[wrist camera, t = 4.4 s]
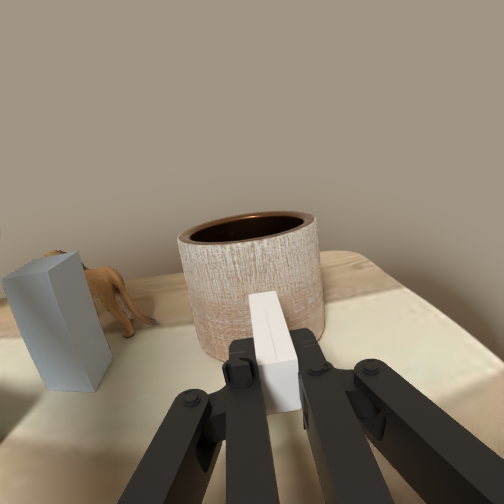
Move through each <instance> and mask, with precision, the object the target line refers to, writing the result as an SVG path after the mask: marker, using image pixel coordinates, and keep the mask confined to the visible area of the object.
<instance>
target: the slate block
mask: <svg viewBox="0 0 504 504" xmlns="http://www.w3.org/2000/svg"><path fill="white" fill-rule="evenodd" d="M1 281H2V284H3V287H4V290H5V293H6V296H7V299H8V302H9V305H10V308H11V310H12V313H13V315H14V318H15V321H16V323H17V326H18V328H19V330H20V333H21V335H22V338H23V340H24V342H25V344H26V347H27V349H28V351H29V353H30V355H31V358H32V360H33V362H34V364H35V366H36V368H37V370H38V372H39V374H40V376H41V378H42V380H43V382H44V383H45V385H46V387H47V389H48V390H54V391H74V392H95V391H96V389H97V387H98V386H99V384H100V382H101V380H102V378H103V376H104V374H105V372H106V370H107V368H108V366H109V365H110V363H111V361H112V359H113V356H112V353H111V351H110V348H109V346H108V343H107V340H106V338H105V335H104V332H103V329H102V327H101V324H100V321H99V318H98V315H97V312H96V309H95V306H94V303H93V300H92V297H91V294H90V290H89V287H88V284H87V280H86V277H85V274H84V270H83V266H82V263H81V259H80V255H79V252H78V251H75V252H71V253H65V254H60V255H55V256H50V257H45V258H40V259H35V260H32V261H31V262H29V263H27V264H26V265H24V266H23V267H21V268H19V269H18V270H16V271H14V272H12V273H11V274H9V275H8V276H6V277H5V278H3V279H1Z"/></svg>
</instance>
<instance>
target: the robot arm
mask: <svg viewBox="0 0 504 504" xmlns="http://www.w3.org/2000/svg"><path fill="white" fill-rule="evenodd" d="M248 296H249V304H250V313H251V321H252V329H253V337H251V338H244V339H237V340H233V341H232V343H231V344H230V345H229V360H227V361H226V362H225V363H224V364H223V366H222V370H223V374H224V378H225V382H226V385H225V386H224V387H223V388H222V389H221V390H219V391H217V392H214V393H211V394H208V395H207V393H206V392H204V391H203V390H200V389H189V390H186V391H183V392H182V393H180V394H179V395H178V396H177V397H176V398H175V400H174V402H173V404H172V405H171V407H170V409H169V411H168V413H167V414H166V416H165V418H164V420H163V422H162V423H161V425H160V427H159V429H158V431H157V433H156V434H155V436H154V438H153V440H152V442H151V443H150V445H149V447H148V449H147V451H146V452H145V454H144V456H143V458H142V460H141V461H140V463H139V465H138V467H137V469H136V470H135V472H134V474H133V476H132V478H131V479H130V481H129V483H128V485H127V487H126V488H125V490H124V492H123V494H122V496H121V497H120V499H119V501H118V503H117V504H201V503H202V501H203V498H204V495H205V492H206V489H207V487H208V484H209V481H210V478H211V475H212V472H213V469H214V466H215V464H216V461H217V458H218V455H219V452H220V449H221V446H222V441H223V440H226V501H227V504H280V502H279V495H278V488H277V482H276V475H275V469H274V462H273V455H272V448H271V442H270V435H269V428H268V422H267V416H266V415H270V414H277V413H283V412H289V411H294V410H300V409H301V405H302V409H303V422H304V429H306V430H307V434H308V438H309V442H310V445H311V449H312V453H313V457H314V461H315V464H316V468H317V472H318V476H319V480H320V483H321V487H322V491H323V495H324V499H325V503H326V504H394V501H393V499H392V497H391V494H390V492H389V490H388V487H387V485H386V483H385V480H384V478H383V476H382V473H381V471H380V469H379V466H378V464H377V462H376V460H375V457H374V455H373V453H372V451H371V448H370V446H369V444H368V441H367V439H366V437H367V438H368V439H369V440H370V441H371V442H372V443H373V445H374V446H375V447H376V448H377V449H378V450H379V451H380V452H381V454H382V455H383V456H384V457H385V458H386V459H387V460H388V461H389V463H390V464H391V465H392V466H393V467H394V468H395V469H396V470H397V472H398V473H399V474H400V475H401V476H402V477H403V478H404V479H405V480H406V482H407V483H408V484H409V485H410V486H411V487H412V488H413V489H414V490H415V491H416V493H417V494H418V495H419V496H420V497H421V498H422V499H423V500H424V501H425V502H426V503H427V504H504V459H502V458H501V457H500V456H499V455H497V454H496V453H495V452H494V451H492V450H491V449H490V448H489V447H487V446H486V445H485V444H484V443H483V442H481V441H480V440H479V439H478V438H476V437H475V436H474V435H473V434H471V433H470V432H469V431H468V430H467V429H465V428H464V427H463V426H462V425H460V424H459V423H458V422H457V421H455V420H454V419H453V418H452V417H451V416H449V415H448V414H447V413H446V412H444V411H443V410H442V409H441V408H439V407H438V406H437V405H436V404H435V403H433V402H432V401H431V400H430V399H428V398H427V397H426V396H425V395H424V394H422V393H421V392H420V391H419V390H417V389H416V388H415V387H414V386H412V385H411V384H410V383H409V382H408V381H406V380H405V379H404V378H403V377H401V376H400V375H399V374H398V373H397V372H395V371H394V370H393V369H392V368H390V367H389V366H388V365H387V364H385V363H384V362H382V361H381V360H377V359H365V360H362V361H360V362H359V363H357V364H356V366H355V367H354V370H341V369H336V368H334V367H333V365H332V364H331V363H329V362H327V361H326V359H325V357H324V355H323V353H322V350H321V348H320V346H319V344H318V342H317V339H316V337H315V335H314V333H313V332H312V331H311V330H309V329H308V328H301V329H296V330H290V331H288V328H287V325H286V322H285V318H284V315H283V312H282V309H281V306H280V303H279V300H278V297H277V294H276V291H268V292H262V293H255V294H249V295H248ZM364 434H365V435H366V437H365V435H364Z"/></svg>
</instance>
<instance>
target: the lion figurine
mask: <svg viewBox="0 0 504 504" xmlns="http://www.w3.org/2000/svg"><path fill="white" fill-rule="evenodd" d="M65 253H67V252H62V251H57V250H53V251H50V252H49V253H47V254H46V255H45V257H50V256H55V255H60V254H65ZM45 257H44V258H45ZM81 263H82V262H81ZM82 266H83V270H84V274H85V277H86V280H87V284H88V287H89V290H90V294H91V297H92V300H93V303H94V306H95V302H94V301H100V300H101V302H102V303H103V305H104V306H105V308H106V309H107V310H108V312H110V313H111V314H112V315H113V316H114V317H115V318H117V319H118V320H119V321H120V322H121V323H122V324H123V325H124V326H125V328H124V329H123V335H124V337H130V336H131V335H132V334H133V333H134V327H133V325H132V323H131V322H130V320H131V319H133V315H132V312H133V313H134V314H135V315H136V316H137V317H138V318H139V319H141V320H142V321H143V322H145V323H147V324H149V325H150V324H155V323H156V322H157V321H156V320H155V319H153V318H149V317H145V316H143V315H142V314H140V313H139V312H138V311H137V309H136V308H135V306H134V305H133V303H132V301H131V299H130V298H129V296H128V294H127V292H126V290H125V284H124V281H123V279H122V277H121V275H120V273H119V272H117V271H116V270H115V269H114V268H111V267H109V266H106V267H101V268H99V269H88V268H86V267H85V266H84V265H83V263H82ZM115 295H116V297H117V298H118V300H119V301H120V302H121V304H122V305H123V308H124V310H125V313H126V314H125V313H124V312H123V311H122V310H121V309H120V308H119V306H118V304H117V303H116V301H115ZM95 309H96V306H95ZM96 312H97V309H96ZM97 313H98V312H97Z"/></svg>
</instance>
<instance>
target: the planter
mask: <svg viewBox="0 0 504 504" xmlns="http://www.w3.org/2000/svg"><path fill="white" fill-rule="evenodd" d="M177 240H178V246H179V251H180V256H181V261H182V266H183V271H184V276H185V281H186V285H187V290H188V295H189V300H190V304H191V309H192V314H193V318H194V322H195V327H196V331H197V335H198V339H199V341H200V344H201V346H202V348H203V349H204V350H205V351H206V352H207V353H208V354H209V355H210V356H212V357H214V358H216V359H218V360H220V361H223V362H226V361H227V360H229V345H230V344H231V343H232V341H233V340H237V339H244V338H251V337H253V329H252V321H251V313H250V304H249V296H248V295H249V294H255V293H262V292H268V291H276V294H277V297H278V300H279V303H280V306H281V309H282V312H283V315H284V318H285V322H286V325H287V328H288V331H290V330H296V329H301V328H308V329H309V330H311V331H312V332H313V333H314V335H315V337H316V339H317V340H318V339H319V338H320V336H321V335H322V333H323V329H324V323H325V315H324V300H323V287H322V276H321V264H320V253H319V242H318V232H317V222H316V218H315V217H314V216H313V215H311V214H308V213H303V212H297V211H296V212H295V211H267V212H256V213H248V214H241V215H235V216H230V217H225V218H221V219H217V220H213V221H209V222H206V223H202V224H200V225H197V226H194V227H192V228H190V229H188V230H186V231H184V232H183V233H181V234H180V235H179V236H178V238H177Z"/></svg>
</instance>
